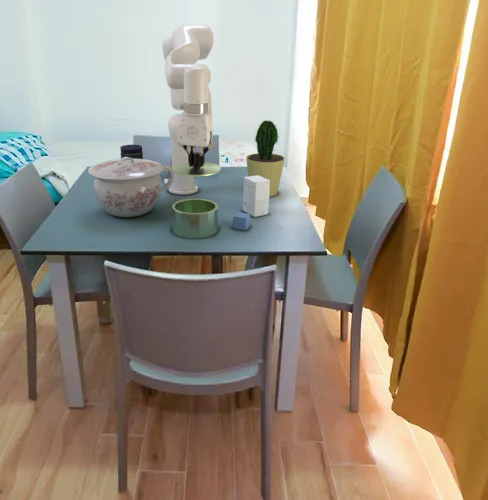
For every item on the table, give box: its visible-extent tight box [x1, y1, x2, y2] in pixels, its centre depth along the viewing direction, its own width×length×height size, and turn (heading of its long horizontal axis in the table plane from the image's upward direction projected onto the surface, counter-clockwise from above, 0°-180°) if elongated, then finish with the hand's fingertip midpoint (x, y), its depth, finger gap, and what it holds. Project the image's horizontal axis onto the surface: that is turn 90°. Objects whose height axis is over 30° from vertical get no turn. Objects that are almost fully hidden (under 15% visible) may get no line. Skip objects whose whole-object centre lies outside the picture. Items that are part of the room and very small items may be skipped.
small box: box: [242, 175, 270, 218], centre depth 179 cm, size 8×6×13 cm
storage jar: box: [120, 144, 144, 159], centre depth 219 cm, size 10×10×15 cm
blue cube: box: [232, 212, 251, 231], centre depth 168 cm, size 4×4×4 cm
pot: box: [171, 198, 219, 239], centre depth 165 cm, size 15×15×8 cm
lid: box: [172, 151, 222, 178], centre depth 160 cm, size 16×16×6 cm
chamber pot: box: [87, 157, 174, 218], centre depth 180 cm, size 28×28×21 cm
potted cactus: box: [245, 119, 286, 198], centre depth 197 cm, size 15×15×30 cm
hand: (196, 165), depth 161 cm, fingers closed on lid, 2 cm apart
